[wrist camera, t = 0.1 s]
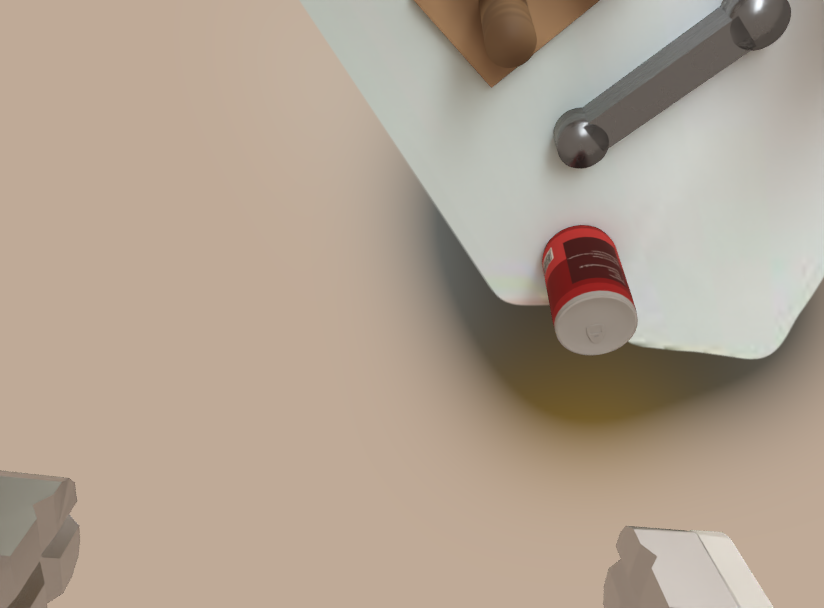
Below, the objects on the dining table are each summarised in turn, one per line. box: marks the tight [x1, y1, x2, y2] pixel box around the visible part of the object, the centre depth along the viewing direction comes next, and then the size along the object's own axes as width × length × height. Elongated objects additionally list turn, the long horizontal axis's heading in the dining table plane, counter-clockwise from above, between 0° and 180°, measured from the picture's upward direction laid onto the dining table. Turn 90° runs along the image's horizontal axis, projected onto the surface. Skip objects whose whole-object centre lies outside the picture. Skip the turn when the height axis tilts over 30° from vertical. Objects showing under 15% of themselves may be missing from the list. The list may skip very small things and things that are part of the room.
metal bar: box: [554, 0, 791, 168], centre depth 58 cm, size 20×4×3 cm, turn 133°
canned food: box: [542, 225, 638, 355], centre depth 68 cm, size 8×8×11 cm
